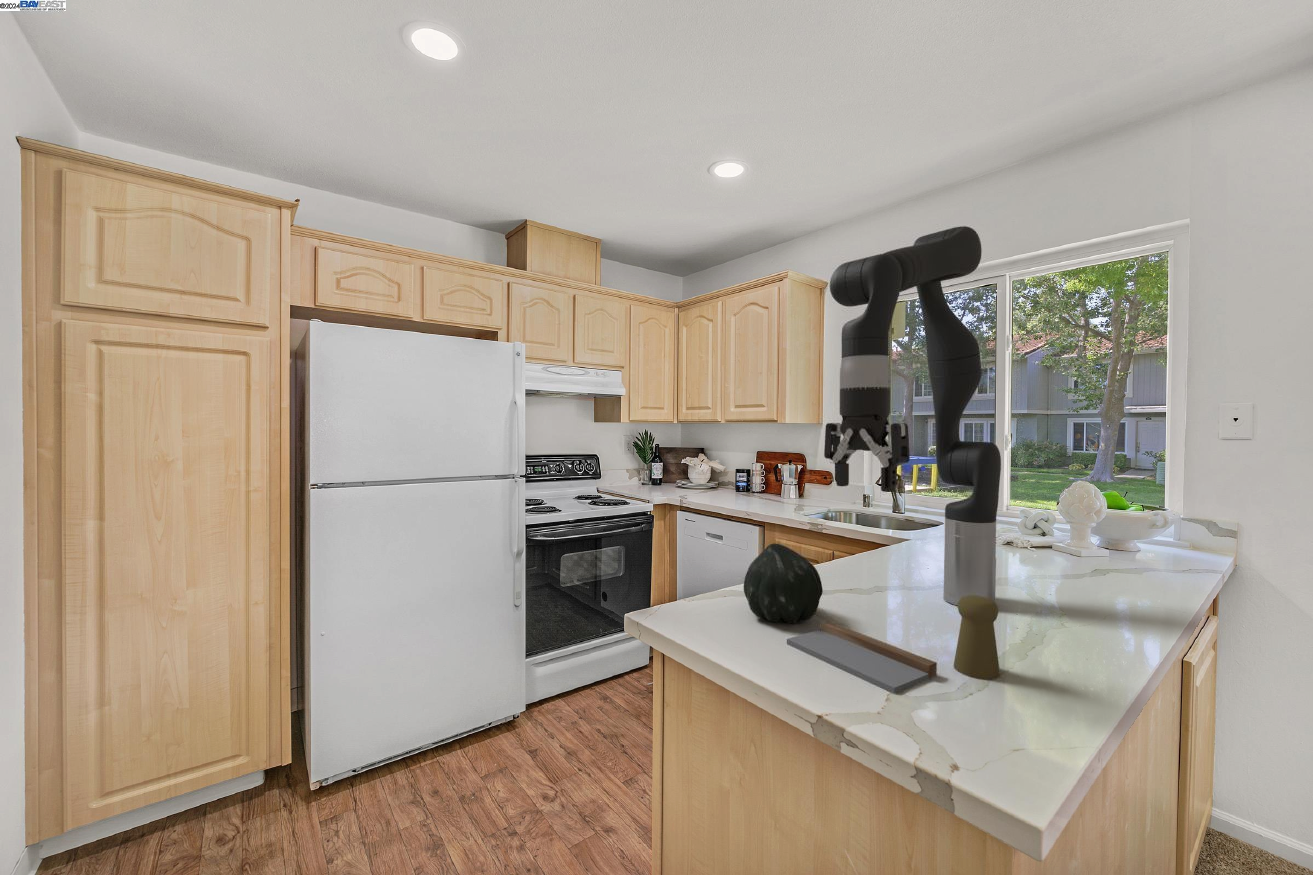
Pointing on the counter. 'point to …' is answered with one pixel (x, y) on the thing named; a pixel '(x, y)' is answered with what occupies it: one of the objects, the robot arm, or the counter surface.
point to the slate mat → (859, 661)
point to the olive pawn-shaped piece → (977, 638)
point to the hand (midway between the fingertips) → (864, 488)
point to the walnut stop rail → (881, 648)
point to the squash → (782, 585)
